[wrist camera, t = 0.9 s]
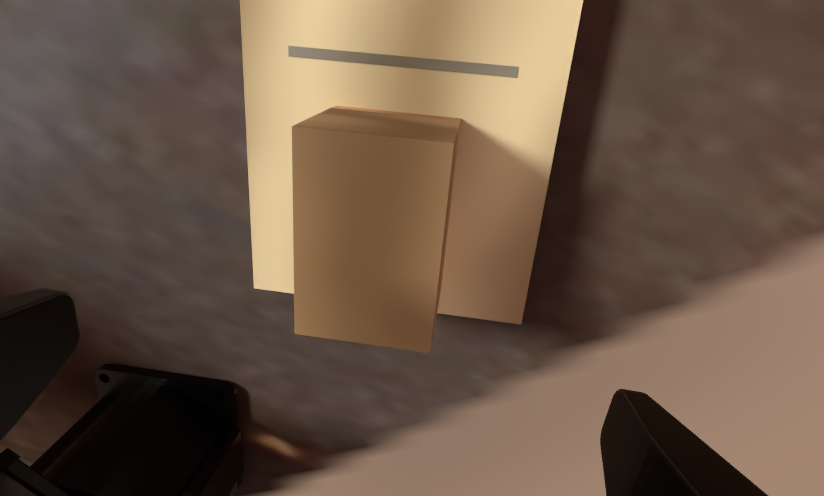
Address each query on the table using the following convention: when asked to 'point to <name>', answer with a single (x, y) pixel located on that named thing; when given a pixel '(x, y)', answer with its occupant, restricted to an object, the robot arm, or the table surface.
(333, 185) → the block
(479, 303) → the birch board
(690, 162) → the table surface
